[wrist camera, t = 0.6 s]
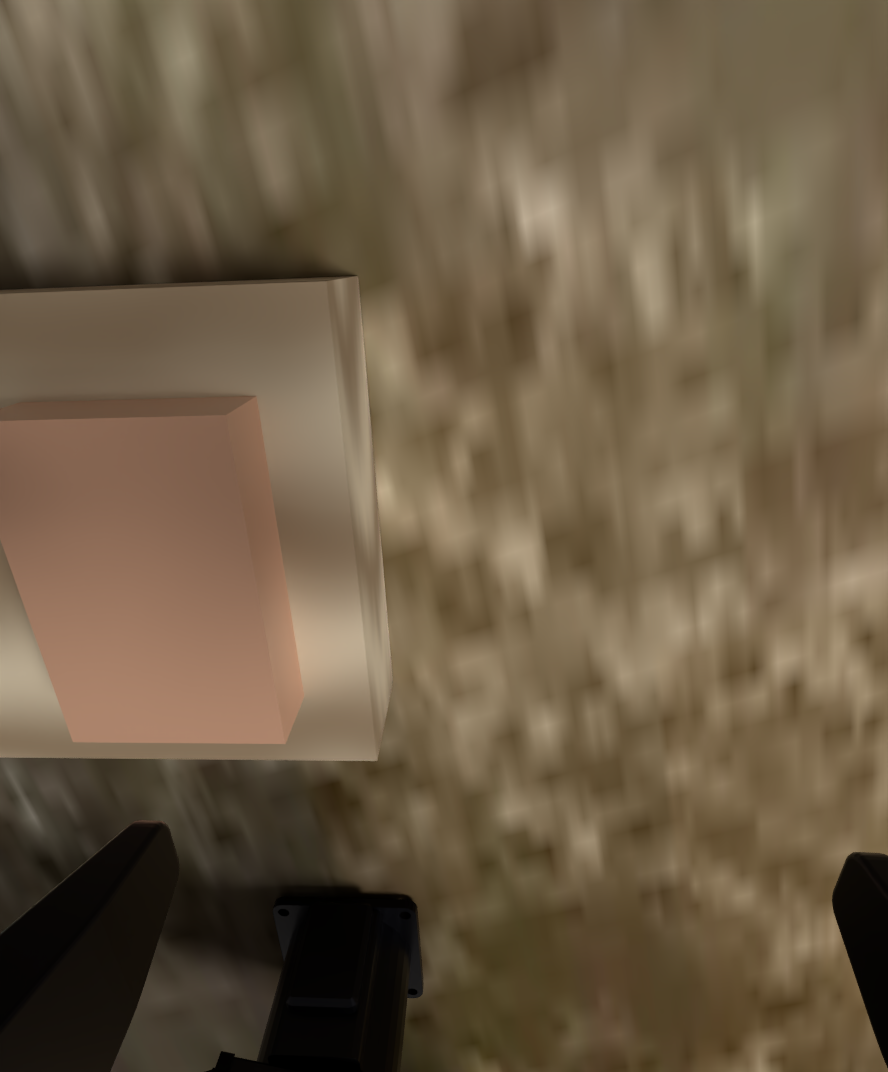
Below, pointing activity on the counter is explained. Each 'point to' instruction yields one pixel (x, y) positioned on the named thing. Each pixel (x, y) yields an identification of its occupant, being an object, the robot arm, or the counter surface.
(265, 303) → the board
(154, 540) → the tile
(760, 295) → the counter surface
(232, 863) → the counter surface
